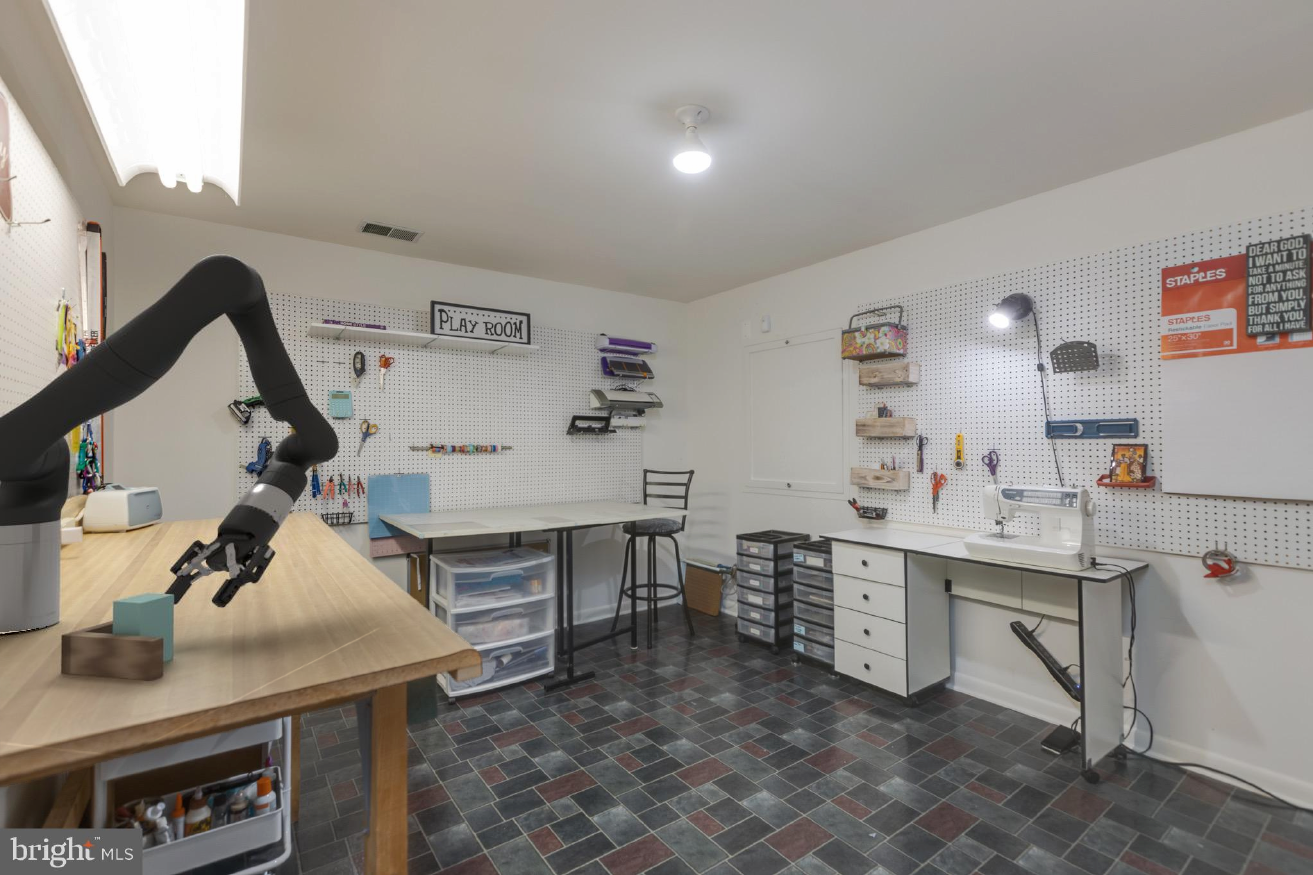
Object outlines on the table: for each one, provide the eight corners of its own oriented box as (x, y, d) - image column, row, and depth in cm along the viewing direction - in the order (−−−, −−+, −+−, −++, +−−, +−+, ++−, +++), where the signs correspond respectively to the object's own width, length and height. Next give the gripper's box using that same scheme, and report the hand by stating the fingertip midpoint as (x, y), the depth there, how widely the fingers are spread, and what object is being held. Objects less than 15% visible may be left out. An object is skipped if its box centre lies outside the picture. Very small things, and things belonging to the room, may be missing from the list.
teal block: (112, 668, 79) (113, 601, 79) (147, 656, 83) (147, 592, 83) (139, 670, 78) (140, 603, 78) (173, 658, 83) (173, 594, 83)
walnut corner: (61, 672, 77) (61, 634, 77) (137, 647, 87) (138, 613, 87) (151, 680, 75) (151, 641, 75) (220, 653, 85) (220, 618, 85)
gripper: (206, 502, 98) (134, 588, 86) (281, 503, 95) (217, 592, 84) (234, 529, 103) (170, 613, 92) (306, 531, 100) (249, 618, 89)
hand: (192, 603), depth 88 cm, fingers open, 8 cm apart
